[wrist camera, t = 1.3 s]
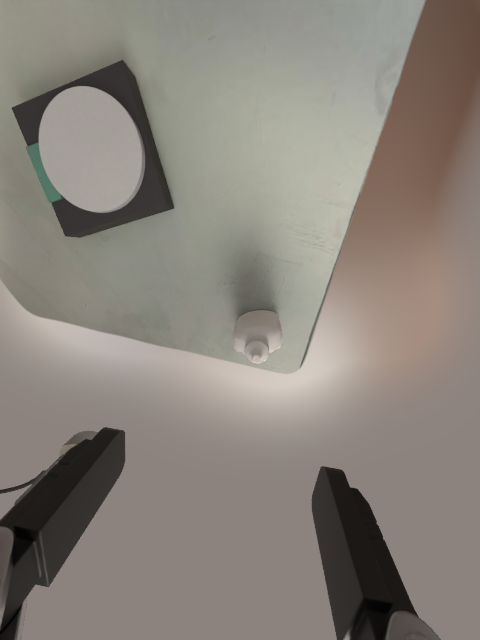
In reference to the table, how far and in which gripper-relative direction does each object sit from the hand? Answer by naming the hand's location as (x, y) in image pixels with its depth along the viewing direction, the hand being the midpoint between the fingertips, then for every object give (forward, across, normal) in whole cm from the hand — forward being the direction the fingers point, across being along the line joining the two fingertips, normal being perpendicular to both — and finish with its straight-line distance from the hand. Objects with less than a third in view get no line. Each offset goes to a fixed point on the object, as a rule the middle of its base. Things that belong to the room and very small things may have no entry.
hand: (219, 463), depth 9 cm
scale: (+24, -21, +16) cm, 36 cm away
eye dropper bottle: (+24, +1, -1) cm, 24 cm away
